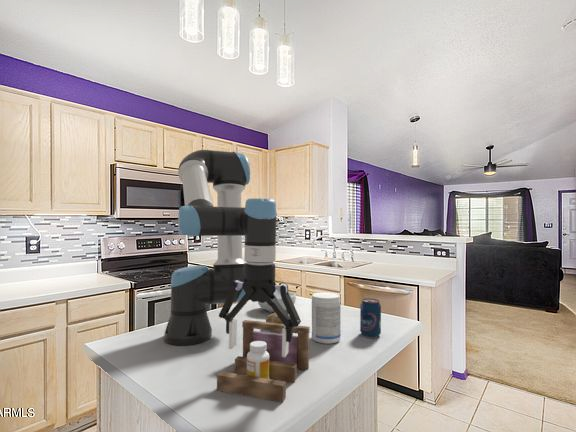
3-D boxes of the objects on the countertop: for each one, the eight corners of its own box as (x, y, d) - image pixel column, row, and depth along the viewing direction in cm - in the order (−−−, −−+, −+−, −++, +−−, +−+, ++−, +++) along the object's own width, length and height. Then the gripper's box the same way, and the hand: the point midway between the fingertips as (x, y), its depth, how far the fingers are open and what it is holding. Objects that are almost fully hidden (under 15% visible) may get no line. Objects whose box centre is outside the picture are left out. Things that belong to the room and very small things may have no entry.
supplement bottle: (269, 379, 81) (269, 339, 81) (268, 390, 76) (269, 347, 76) (247, 379, 81) (248, 339, 81) (245, 390, 75) (245, 347, 76)
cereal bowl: (279, 303, 155) (280, 288, 155) (303, 311, 142) (303, 295, 143) (249, 309, 144) (249, 293, 145) (272, 318, 132) (272, 300, 132)
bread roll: (263, 339, 118) (260, 322, 115) (270, 320, 127) (268, 303, 124) (290, 342, 115) (288, 324, 112) (295, 322, 125) (294, 305, 121)
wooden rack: (211, 389, 76) (211, 342, 76) (245, 356, 94) (245, 319, 94) (289, 403, 70) (290, 352, 70) (309, 366, 88) (310, 326, 89)
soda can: (357, 336, 112) (358, 301, 112) (363, 330, 118) (363, 297, 118) (378, 340, 109) (378, 303, 109) (382, 333, 115) (382, 299, 115)
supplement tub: (346, 341, 107) (346, 296, 108) (324, 346, 102) (324, 299, 102) (327, 332, 115) (327, 290, 116) (305, 337, 110) (306, 293, 110)
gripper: (205, 261, 79) (204, 349, 79) (306, 268, 71) (304, 365, 71) (221, 258, 86) (219, 338, 86) (313, 263, 79) (312, 351, 79)
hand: (258, 350), depth 79 cm, fingers open, 13 cm apart
